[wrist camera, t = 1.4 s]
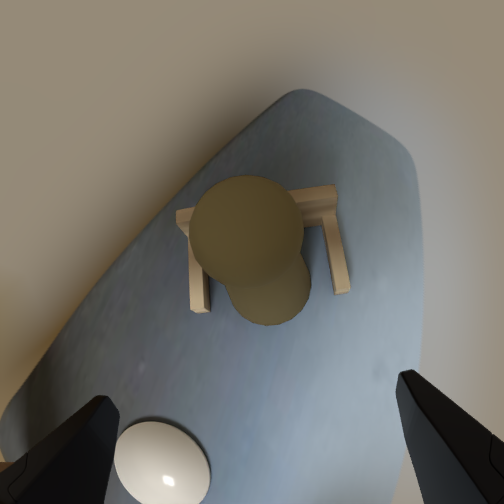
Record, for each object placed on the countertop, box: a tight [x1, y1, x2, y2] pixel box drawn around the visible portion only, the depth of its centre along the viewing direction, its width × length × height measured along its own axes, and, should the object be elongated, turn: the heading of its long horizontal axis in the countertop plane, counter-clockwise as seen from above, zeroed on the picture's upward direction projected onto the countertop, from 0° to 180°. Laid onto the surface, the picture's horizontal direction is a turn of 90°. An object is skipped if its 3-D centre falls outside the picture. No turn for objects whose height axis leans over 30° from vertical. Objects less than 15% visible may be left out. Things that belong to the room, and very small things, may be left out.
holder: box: [176, 184, 351, 313], centre depth 22 cm, size 6×11×4 cm, turn 96°
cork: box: [189, 175, 311, 326], centre depth 18 cm, size 6×6×11 cm
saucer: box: [114, 421, 211, 504], centre depth 19 cm, size 8×8×1 cm
